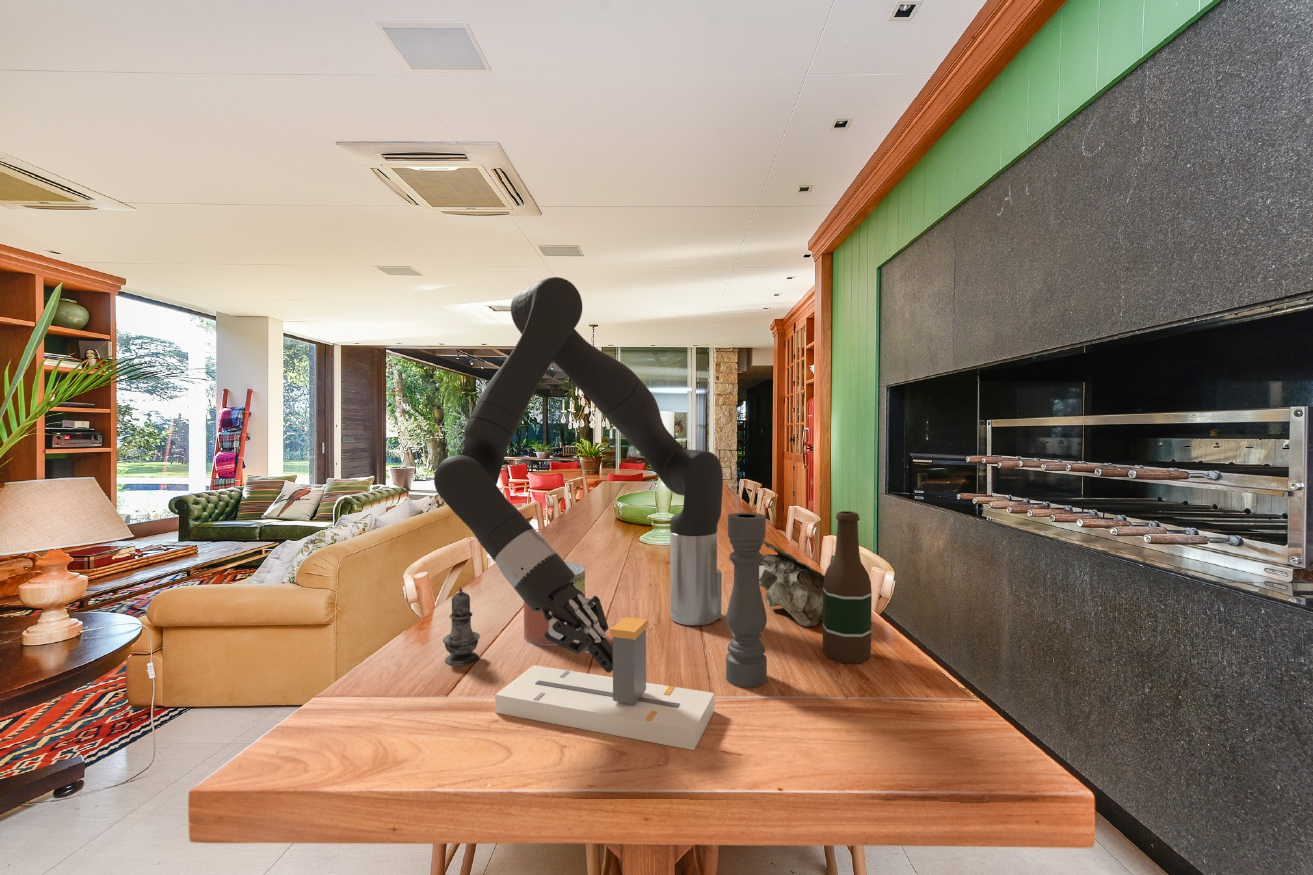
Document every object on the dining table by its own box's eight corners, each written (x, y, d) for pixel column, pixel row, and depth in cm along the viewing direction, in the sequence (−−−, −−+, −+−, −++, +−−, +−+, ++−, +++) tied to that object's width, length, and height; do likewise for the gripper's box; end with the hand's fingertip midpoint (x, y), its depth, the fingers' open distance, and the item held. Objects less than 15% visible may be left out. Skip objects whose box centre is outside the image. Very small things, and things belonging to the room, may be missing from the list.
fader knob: (611, 701, 78) (610, 628, 78) (624, 685, 83) (624, 616, 82) (635, 705, 77) (634, 631, 77) (648, 688, 82) (647, 619, 81)
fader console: (495, 712, 81) (495, 693, 81) (533, 681, 91) (533, 664, 91) (694, 750, 72) (694, 729, 72) (714, 710, 81) (714, 692, 81)
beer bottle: (873, 650, 102) (874, 510, 101) (868, 668, 95) (870, 517, 94) (826, 643, 105) (827, 507, 104) (818, 659, 98) (819, 514, 97)
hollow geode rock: (768, 607, 139) (724, 562, 137) (806, 568, 140) (763, 523, 139) (816, 651, 111) (761, 596, 110) (863, 602, 112) (809, 546, 111)
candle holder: (769, 672, 93) (770, 513, 92) (763, 690, 87) (764, 520, 86) (730, 667, 95) (730, 511, 94) (721, 684, 89) (721, 518, 88)
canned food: (544, 651, 102) (543, 581, 102) (512, 633, 111) (511, 568, 110) (597, 635, 110) (597, 570, 109) (564, 619, 118) (563, 558, 118)
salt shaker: (469, 667, 96) (467, 593, 95) (435, 664, 97) (434, 591, 96) (486, 653, 101) (485, 583, 101) (455, 650, 103) (453, 581, 102)
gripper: (525, 563, 77) (614, 670, 73) (573, 542, 89) (651, 632, 86) (491, 600, 79) (575, 705, 75) (542, 574, 91) (617, 664, 88)
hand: (615, 666), depth 81 cm, fingers closed
